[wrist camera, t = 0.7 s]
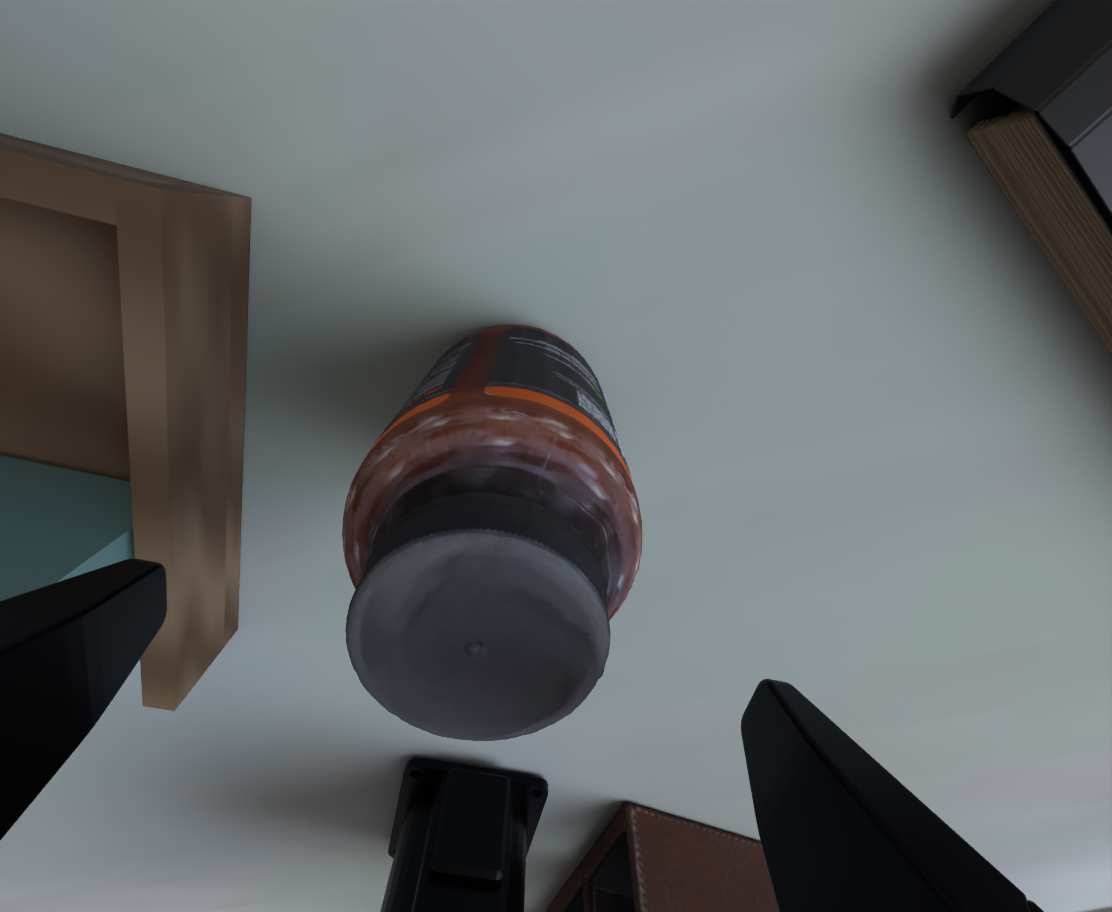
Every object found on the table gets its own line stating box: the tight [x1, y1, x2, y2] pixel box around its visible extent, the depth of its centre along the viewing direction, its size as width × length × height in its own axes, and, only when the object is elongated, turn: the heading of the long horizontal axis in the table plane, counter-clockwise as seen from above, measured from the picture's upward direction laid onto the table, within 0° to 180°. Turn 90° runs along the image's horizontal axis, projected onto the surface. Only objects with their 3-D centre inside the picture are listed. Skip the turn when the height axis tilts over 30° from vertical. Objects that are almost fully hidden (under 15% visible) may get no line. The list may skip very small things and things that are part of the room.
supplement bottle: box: [342, 325, 642, 741], centre depth 13 cm, size 6×6×11 cm
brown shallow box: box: [0, 133, 251, 711], centre depth 17 cm, size 16×10×4 cm, turn 166°
